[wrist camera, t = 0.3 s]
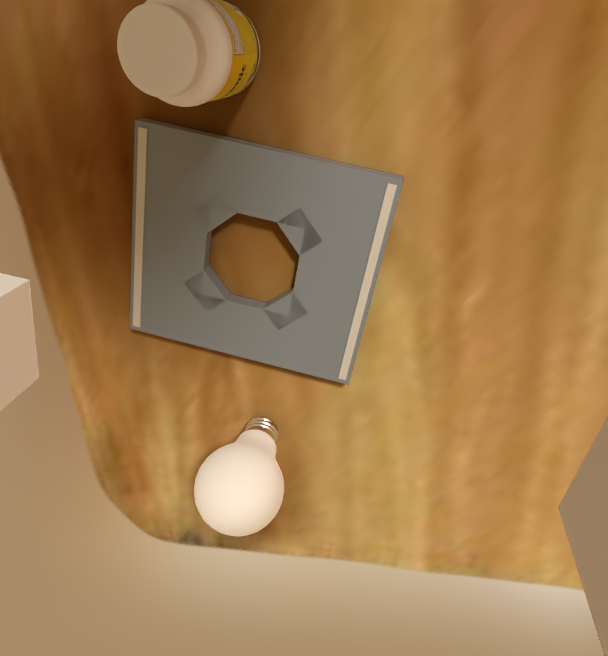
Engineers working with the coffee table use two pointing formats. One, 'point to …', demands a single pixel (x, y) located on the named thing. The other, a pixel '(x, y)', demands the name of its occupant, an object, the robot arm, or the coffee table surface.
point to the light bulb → (242, 482)
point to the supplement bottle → (188, 50)
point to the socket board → (266, 203)
